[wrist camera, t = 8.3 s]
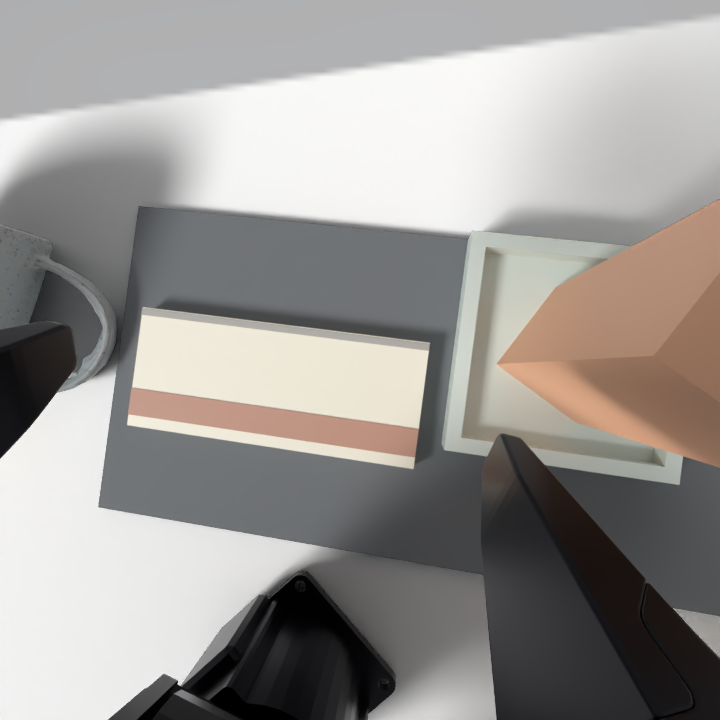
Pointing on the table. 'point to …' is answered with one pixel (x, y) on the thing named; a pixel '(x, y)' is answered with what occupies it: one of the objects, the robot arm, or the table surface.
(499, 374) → the tray
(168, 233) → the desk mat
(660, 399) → the stub
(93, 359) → the ceramic mug
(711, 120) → the table surface
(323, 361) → the strip
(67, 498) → the table surface
